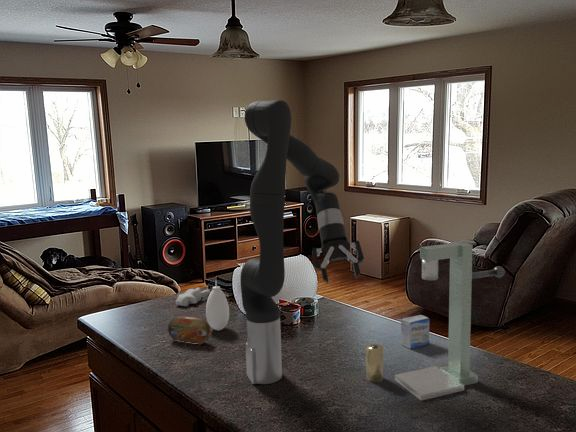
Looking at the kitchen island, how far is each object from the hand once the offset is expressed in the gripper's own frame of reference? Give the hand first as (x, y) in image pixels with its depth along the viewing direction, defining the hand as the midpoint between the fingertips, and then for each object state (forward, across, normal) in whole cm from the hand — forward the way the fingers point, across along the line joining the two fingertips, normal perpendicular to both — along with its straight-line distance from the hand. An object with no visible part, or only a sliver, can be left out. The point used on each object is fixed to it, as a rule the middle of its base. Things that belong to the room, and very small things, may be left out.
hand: (342, 279), depth 145 cm
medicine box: (+17, +21, +27) cm, 38 cm away
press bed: (+30, +25, +7) cm, 40 cm away
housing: (+27, +4, +7) cm, 28 cm away
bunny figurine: (-20, -56, +64) cm, 88 cm away
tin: (+4, -50, +30) cm, 59 cm away
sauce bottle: (-1, -42, +38) cm, 57 cm away
